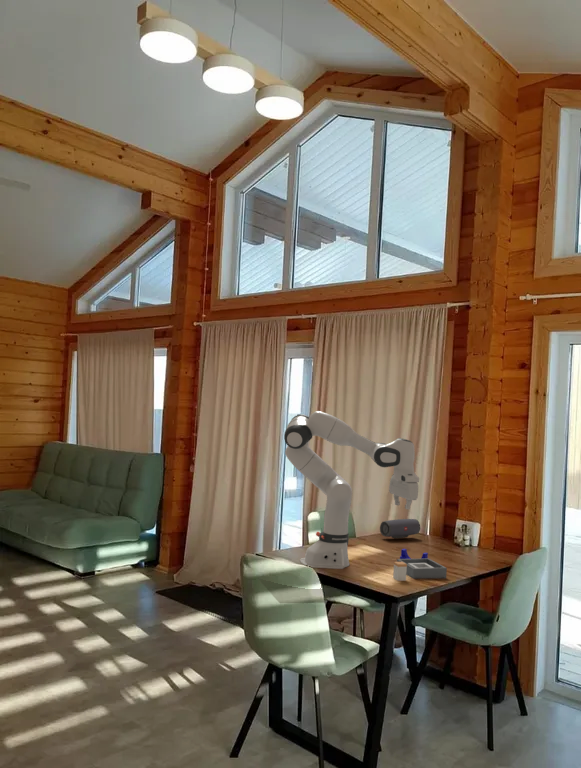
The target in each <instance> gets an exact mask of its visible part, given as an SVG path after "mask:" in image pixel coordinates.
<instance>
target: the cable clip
mask: <svg viewBox="0 0 581 768" xmlns="http://www.w3.org/2000/svg"><path fill="white" fill-rule="evenodd" d="M407 550H408V549H407V548H402V549H401V551H400V556H399V559H412V558H411V557H410V556H409V554H408V551H407ZM428 556H429V553H428V552H423V553H422V556H421V557H420V559H424V558H428Z"/></svg>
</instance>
